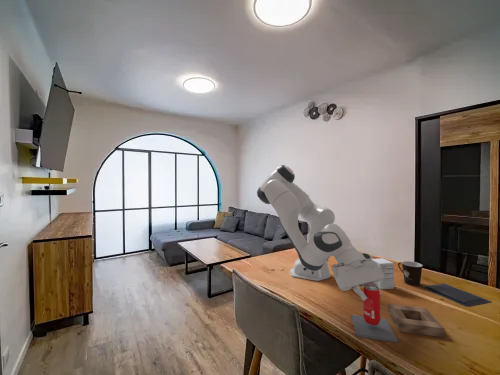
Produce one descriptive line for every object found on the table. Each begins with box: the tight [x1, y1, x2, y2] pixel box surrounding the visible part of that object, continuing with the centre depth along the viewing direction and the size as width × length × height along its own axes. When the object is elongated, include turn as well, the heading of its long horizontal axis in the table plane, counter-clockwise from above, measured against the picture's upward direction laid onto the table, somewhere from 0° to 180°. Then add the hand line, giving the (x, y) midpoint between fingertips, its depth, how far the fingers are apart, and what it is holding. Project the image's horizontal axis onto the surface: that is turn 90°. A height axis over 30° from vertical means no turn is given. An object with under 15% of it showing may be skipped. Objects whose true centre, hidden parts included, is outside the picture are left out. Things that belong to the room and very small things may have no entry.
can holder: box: [387, 303, 445, 338], centre depth 85 cm, size 13×13×3 cm
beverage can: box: [362, 284, 381, 325], centre depth 82 cm, size 5×5×12 cm
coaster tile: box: [350, 314, 398, 343], centre depth 82 cm, size 12×12×1 cm
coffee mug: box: [397, 260, 423, 287], centre depth 120 cm, size 12×9×10 cm
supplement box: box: [371, 257, 395, 290], centre depth 116 cm, size 7×7×13 cm
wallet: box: [421, 283, 493, 308], centre depth 107 cm, size 20×2×15 cm
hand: (372, 297), depth 81 cm, fingers closed on beverage can, 5 cm apart
